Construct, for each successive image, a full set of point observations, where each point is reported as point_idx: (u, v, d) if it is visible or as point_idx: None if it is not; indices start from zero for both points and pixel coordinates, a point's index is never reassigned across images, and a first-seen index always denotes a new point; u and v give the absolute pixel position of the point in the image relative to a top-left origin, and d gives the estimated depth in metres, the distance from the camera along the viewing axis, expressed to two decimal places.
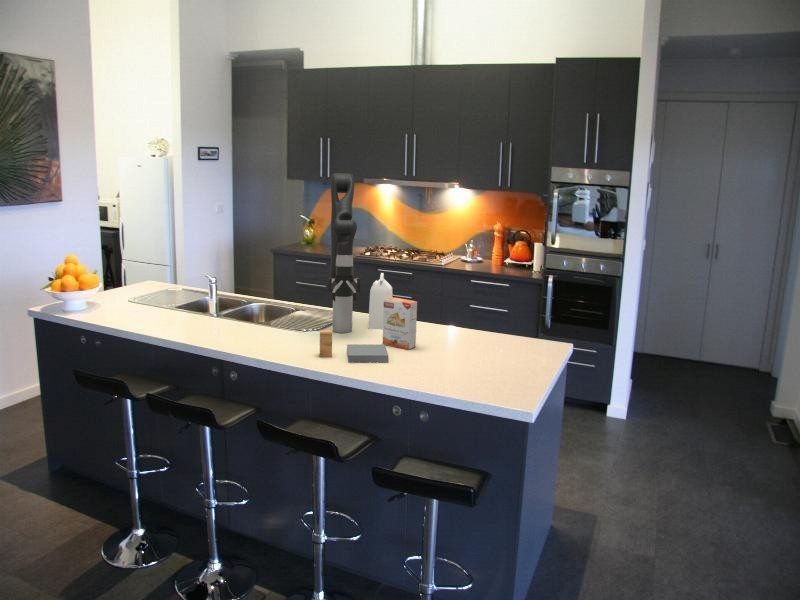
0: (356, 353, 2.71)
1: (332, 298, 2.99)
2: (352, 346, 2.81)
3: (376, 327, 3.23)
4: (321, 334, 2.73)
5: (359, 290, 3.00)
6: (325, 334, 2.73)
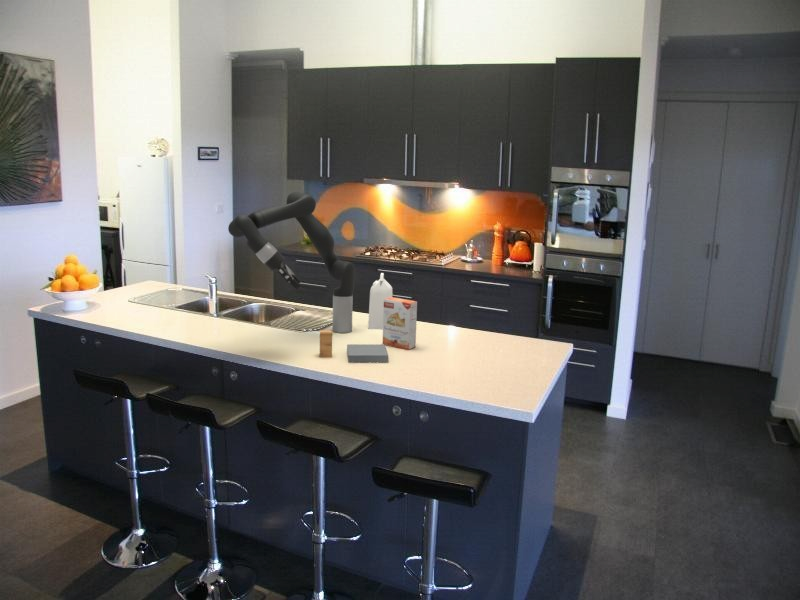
0: (356, 353, 2.71)
1: None
2: (352, 346, 2.81)
3: (376, 327, 3.23)
4: (321, 334, 2.73)
5: None
6: (325, 334, 2.73)
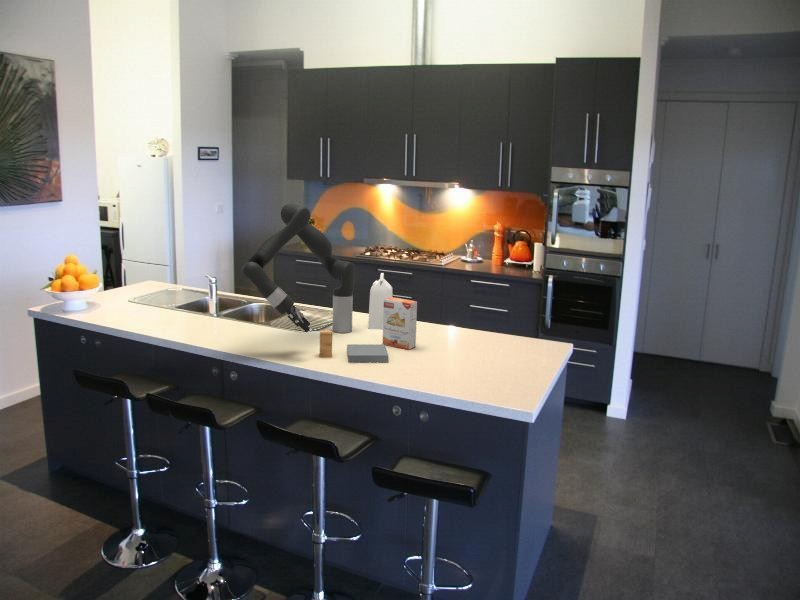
0: (356, 353, 2.71)
1: (305, 324, 2.79)
2: (352, 346, 2.81)
3: (376, 327, 3.23)
4: (321, 334, 2.73)
5: None
6: (325, 334, 2.73)
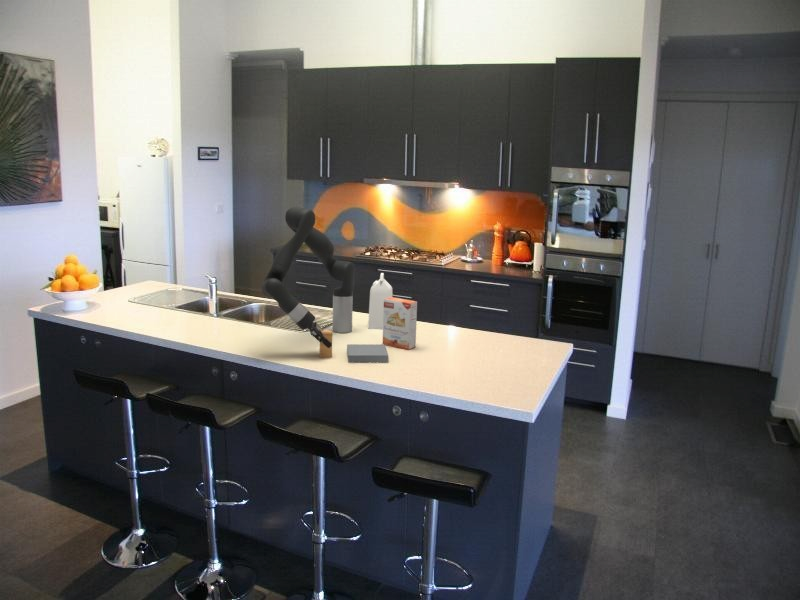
0: (356, 353, 2.71)
1: None
2: (352, 346, 2.81)
3: (376, 327, 3.23)
4: None
5: None
6: (325, 334, 2.73)
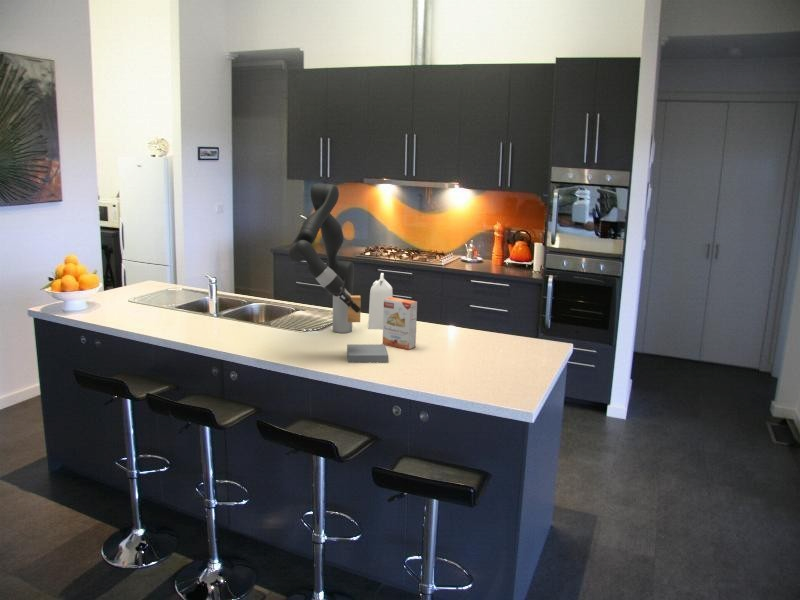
0: (356, 353, 2.71)
1: None
2: (352, 346, 2.81)
3: (376, 327, 3.23)
4: None
5: (348, 306, 2.68)
6: (353, 298, 2.70)
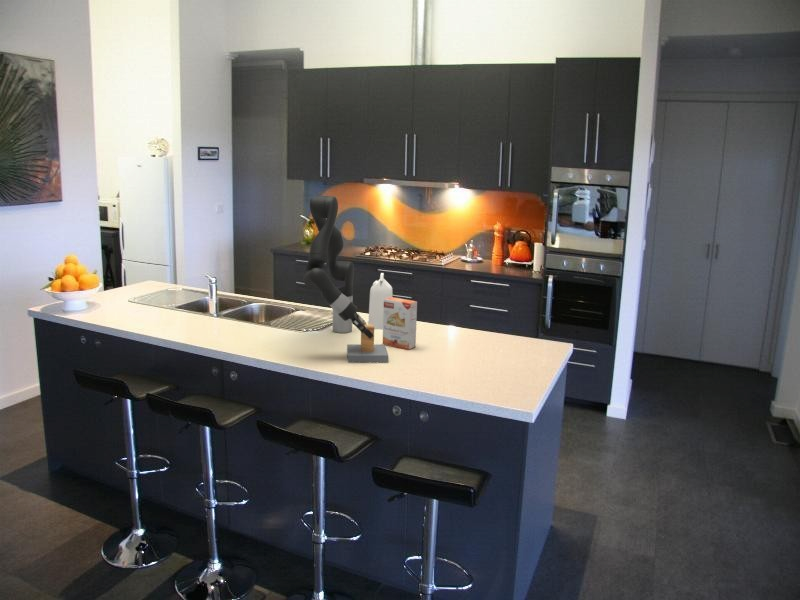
0: (356, 353, 2.71)
1: None
2: (352, 346, 2.81)
3: (376, 327, 3.23)
4: None
5: (361, 332, 2.69)
6: (367, 328, 2.73)
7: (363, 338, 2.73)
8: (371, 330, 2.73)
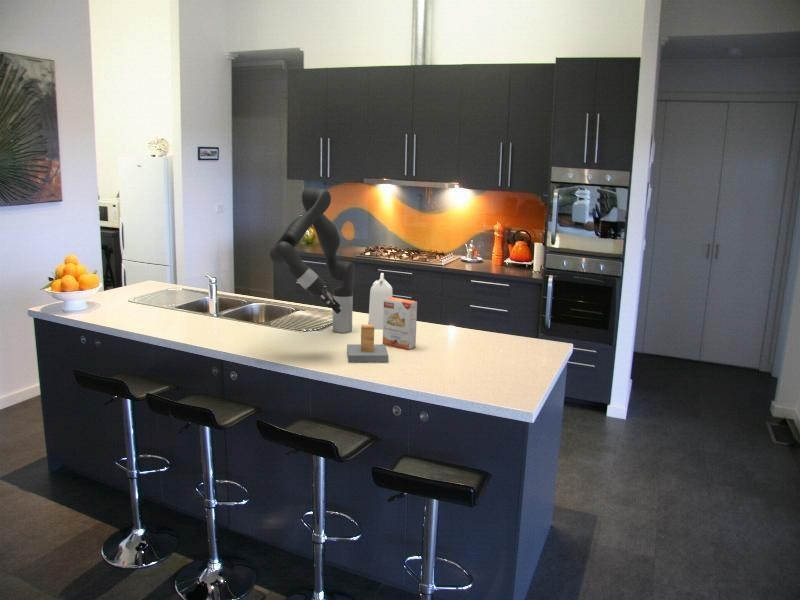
0: (356, 353, 2.71)
1: None
2: (352, 346, 2.81)
3: (376, 327, 3.23)
4: (363, 328, 2.73)
5: None
6: (367, 328, 2.73)
7: (363, 338, 2.73)
8: (371, 330, 2.73)
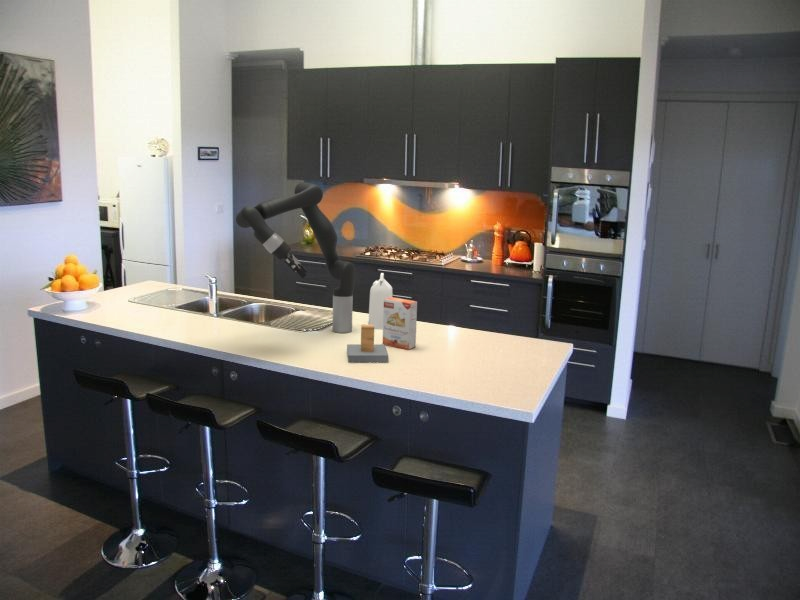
0: (356, 353, 2.71)
1: None
2: (352, 346, 2.81)
3: (376, 327, 3.23)
4: (363, 328, 2.73)
5: None
6: (367, 328, 2.73)
7: (363, 338, 2.73)
8: (371, 330, 2.73)
